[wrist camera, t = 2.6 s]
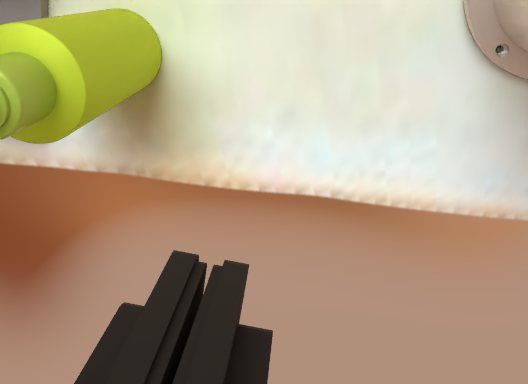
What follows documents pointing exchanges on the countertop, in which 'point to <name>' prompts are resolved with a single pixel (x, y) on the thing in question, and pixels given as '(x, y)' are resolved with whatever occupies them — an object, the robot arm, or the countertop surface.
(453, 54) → the countertop surface
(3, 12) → the cradle
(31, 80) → the soap dispenser
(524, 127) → the countertop surface
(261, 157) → the countertop surface
